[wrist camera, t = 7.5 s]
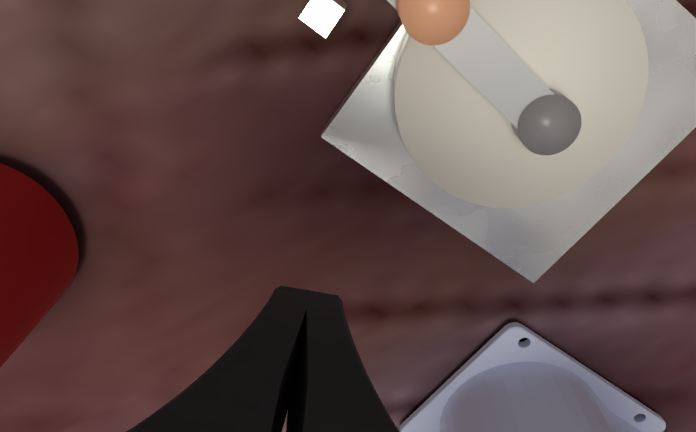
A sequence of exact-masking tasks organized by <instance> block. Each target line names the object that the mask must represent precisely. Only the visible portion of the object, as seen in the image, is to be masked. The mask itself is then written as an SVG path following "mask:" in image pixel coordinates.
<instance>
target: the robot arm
mask: <svg viewBox="0 0 696 432" xmlns="http://www.w3.org/2000/svg"><path fill="white" fill-rule="evenodd" d="M521 338H527V340H525V341H523V342H519V340H520V339H521ZM287 410H288V416H287V430H286V432H399V430H400V432H663V431H664V430H665V428H666V423H665V421H664V420H663V418H662V417H661V416H660V415H659V414H657V413H655V412H654V411H652V410H651V409H649V408H648V407H646V406H645V405H643V404H642V403H640V402H639V401H637V400H636V399H634V398H633V397H631V396H630V395H628V394H627V393H625V392H624V391H622V390H621V389H619V388H618V387H616V386H615V385H613V384H612V383H610V382H609V381H607V380H605V379H604V378H602V377H601V376H599V375H598V374H596V373H595V372H593V371H592V370H590V369H589V368H587V367H586V366H584V365H583V364H581V363H580V362H578V361H577V360H575V359H574V358H572V357H571V356H569V355H568V354H566V353H565V352H563V351H562V350H560V349H559V348H557V347H555V346H554V345H552V344H551V343H549V342H548V341H546V340H545V339H543V338H542V337H540V336H539V335H537V334H536V333H534V332H533V331H531V330H530V329H528V328H527V327H525V326H524V325H522V324H520V323H518V322H512V323H508V324H507V325H505V326H504V327H503V328H502V329H501V330H500V331H499V332H498V333H497V334H496V335H494V336H493V337H492V338H491V339H490V340H489V341H488V342H487V343H486V344H485V345H484V346H483V347H482V348H481V349H480V350H479V351H478V352H477V353H476V354H474V355H473V356H472V357H471V358H470V359H469V360H468V361H467V362H466V363H465V364H464V365H463V366H462V367H461V368H460V369H459V370H458V371H457V372H455V373H454V374H453V375H452V376H451V377H450V378H449V379H448V380H447V381H446V382H445V383H444V384H443V385H442V386H441V387H440V388H439V389H438V390H437V391H435V392H434V393H433V394H432V395H431V396H430V397H429V398H428V399H427V400H426V401H425V402H424V403H423V404H422V405H421V406H420V407H419V408H418V409H417V410H415V411H414V412H413V413H412V414H411V415H410V416H409V417H408V418H407V419H406V420H405V421H404V422H403V423H402V424H401V425H400V429H399V430H398V429H397V427H396V426H395V424H394V422H393V421H392V419H391V418H390V416H389V414H388V413H387V411H386V409H385V407H384V406H383V404H382V402H381V400H380V398H379V397H378V395H377V393H376V391H375V389H374V387H373V385H372V383H371V381H370V379H369V377H368V375H367V373H366V370H365V368H364V366H363V364H362V361H361V359H360V356H359V354H358V352H357V349H356V347H355V344H354V342H353V339H352V336H351V333H350V330H349V327H348V324H347V321H346V318H345V314H344V310H343V305H342V301H341V299H340V298H339V297H338V296H337V295H331V294H325V293H320V292H314V291H308V290H302V289H297V288H291V287H285V286H280V287H278V288H276V289H275V290H274V292H273V294H272V296H271V298H270V299H269V301H268V302H267V304H266V305H265V307H264V308H263V310H262V311H261V312H260V314H259V315H258V316H257V317H256V319H255V320H254V321H253V322H252V324H251V325H250V326H249V327H248V328H247V329H246V331H245V332H244V333H243V334H242V335H241V337H240V338H239V339H238V340H237V341H236V342H235V343H234V344H233V345H232V346H231V347H230V348H229V349H228V350H227V351H226V352H225V353H224V354H223V355H222V356H221V357H220V358H219V359H218V360H217V361H216V362H215V363H214V364H213V365H212V366H211V367H210V368H209V369H208V370H207V371H206V372H205V373H204V374H203V375H202V376H200V377H199V378H198V379H197V380H196V381H195V382H194V383H192V384H191V385H190V386H189V387H188V388H186V389H185V390H184V391H183V392H181V393H180V394H179V395H178V396H176V397H175V398H174V399H172V400H171V401H170V402H168V403H167V404H166V405H164V406H163V407H162V408H160V409H159V410H158V411H156V412H155V413H154V414H152V415H151V416H149V417H148V418H146V419H145V420H143V421H142V422H141V423H139V424H138V425H136V426H135V427H133V428H131V429H130V430H128V431H126V432H282V428H283V425H284V421H285V417H286V414H287ZM637 414H639V415H637ZM636 415H637V416H636Z"/></svg>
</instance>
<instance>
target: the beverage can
mask: <svg viewBox="0 0 696 432" xmlns="http://www.w3.org/2000/svg"><path fill="white" fill-rule="evenodd" d="M78 259H79V250H78V243H77V238H76V235H75V231H74V229H73V226H72V224H71V222H70V220H69V218H68V217H67V215H66V213H65V212H64V210H63V209H62V207H61V206H60V205H59V203H58V202H57V201H56V200H55V199H54V198H53V197H52V196H51V194H50V193H48V192H47V191H46V190H45V189H44V188H43V187H42V186H41V185H39V184H38V183H37V182H35V181H34V180H33V179H31V178H30V177H28V176H26V175H25V174H23V173H21V172H19V171H17V170H15V169H13V168H11V167H9V166H6V165H4V164H1V163H0V367H1V366H2V365H3V364H4V363H5V361H6V360H7V359H8V358H9V357H10V356H11V354H12V353H13V352H14V351H15V350H16V349H17V347H18V346H19V345H20V344H21V343H22V342H23V340H24V339H25V338H26V337H27V336H28V335H29V333H30V332H31V331H32V330H33V329H34V327H35V326H36V325H37V324H38V323H39V322H40V320H41V319H42V318H43V317H44V316H45V314H46V313H47V312H48V311H49V310H50V308H51V307H52V306H53V305H54V304H55V302H56V301H57V300H58V299H59V298H60V296H61V295H62V294H63V293H64V292H65V290H66V289H67V288H68V287H69V285H70V284H71V282H72V280H73V278H74V276H75V273H76V270H77V266H78Z"/></svg>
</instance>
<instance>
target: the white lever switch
mask: <svg viewBox="0 0 696 432" xmlns="http://www.w3.org/2000/svg"><path fill="white" fill-rule="evenodd" d="M387 1H388V2H389V3H390V4H391V5H392V6H393V7H394V8H395V9H396V10H397V13H398V15H399V17H400V19H401V22H402V24H403V26H404V28H405V30H406V31H407V35H406V37H405V40H404V42H403V44H402V46H401V49H400V53H399V56H398V59H397V63H396V68H395V74H394V87H393V95H394V107H395V113H396V118H397V123H398V127H399V132H400V134H401V137H402V140H403V142H404V145H405V147H406V149H407V151H408V153H409V155H410V156H411V158H412V160H413V161H414V162H415V164H416V165H417V167H418V168H419V169H420V171H421V172H422V173H423V174H424V175H425V176H426V177H427V178H428V179H429V180H430V181H432V182H433V183H434V184H435V185H437V186H438V187H439V188H441V189H442V190H444V191H445V192H447V193H449V194H451V195H452V196H454V197H457V198H459V199H461V200H464V201H466V202H469V203H473V204H477V205H481V206H487V207H494V208H517V207H526V206H531V205H536V204H541V203H544V202H547V201H550V200H553V199H556V198H558V197H560V196H562V195H564V194H567V193H569V192H571V191H572V190H574V189H576V188H578V187H579V186H581V185H583V184H584V183H585V182H587V181H588V180H589V179H591V178H592V177H593V176H595V175H596V174H597V173H598V172H600V171H601V170H602V169H603V168H604V167H605V166H606V165H607V164H608V163H609V162H610V161H611V160H612V159H613V157H614V156H615V155H616V154H617V153H618V152H619V150H620V149H621V148H622V146H623V145H624V143H625V142H626V140H627V139H628V137H629V136H630V134H631V132H632V130H633V128H634V126H635V124H636V122H637V120H638V117H639V115H640V112H641V109H642V107H643V103H644V99H645V95H646V91H647V83H648V74H649V68H648V52H647V46H646V41H645V37H644V34H643V31H642V28H641V25H640V23H639V21H638V19H637V17H636V15H635V13H634V11H633V9H632V8H631V7H630V5H629V4H628V3H627V1H626V0H387Z"/></svg>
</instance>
